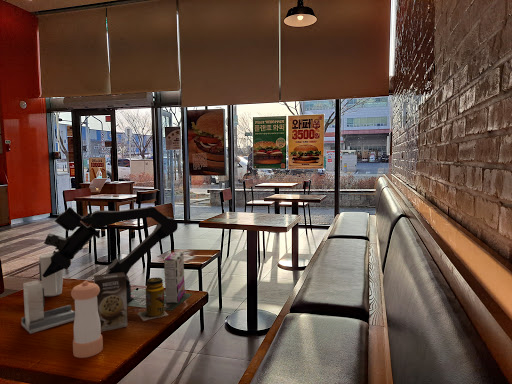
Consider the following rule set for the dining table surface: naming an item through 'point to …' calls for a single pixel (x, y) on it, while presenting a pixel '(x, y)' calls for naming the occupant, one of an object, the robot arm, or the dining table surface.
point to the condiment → (154, 300)
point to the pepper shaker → (86, 321)
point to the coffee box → (112, 300)
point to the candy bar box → (174, 277)
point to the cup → (58, 281)
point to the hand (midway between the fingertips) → (44, 274)
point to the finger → (49, 281)
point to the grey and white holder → (35, 313)
